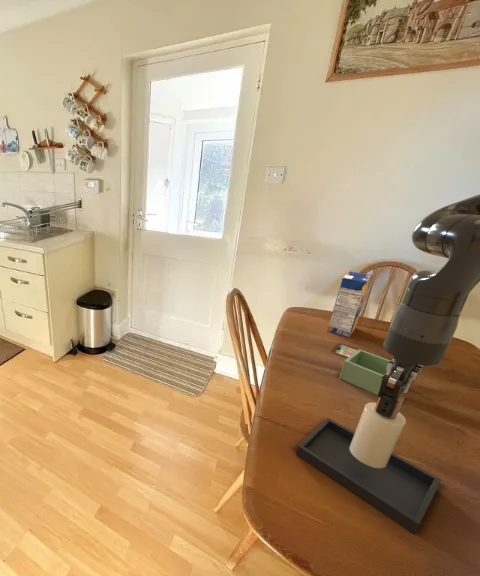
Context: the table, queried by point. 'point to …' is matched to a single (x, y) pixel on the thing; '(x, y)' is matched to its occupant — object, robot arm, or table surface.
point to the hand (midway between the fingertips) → (386, 409)
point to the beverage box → (349, 303)
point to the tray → (371, 475)
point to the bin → (364, 370)
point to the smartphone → (345, 351)
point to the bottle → (377, 435)
